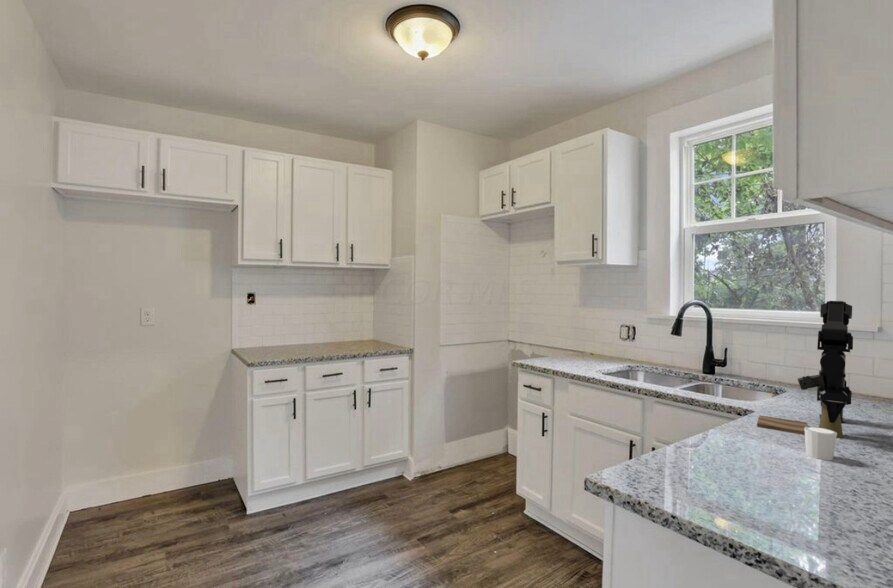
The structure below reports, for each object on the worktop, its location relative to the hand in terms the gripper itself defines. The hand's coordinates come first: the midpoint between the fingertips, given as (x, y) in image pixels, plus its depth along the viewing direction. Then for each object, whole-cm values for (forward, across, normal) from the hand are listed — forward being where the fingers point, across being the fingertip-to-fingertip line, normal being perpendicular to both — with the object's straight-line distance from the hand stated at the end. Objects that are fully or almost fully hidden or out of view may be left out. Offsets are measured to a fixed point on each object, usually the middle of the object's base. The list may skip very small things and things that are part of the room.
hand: (830, 419), depth 144 cm
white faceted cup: (+5, +27, -4) cm, 28 cm away
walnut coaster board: (+5, -1, -12) cm, 13 cm away
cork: (+5, 0, 0) cm, 5 cm away
